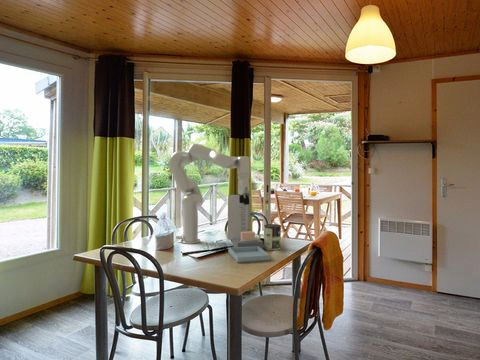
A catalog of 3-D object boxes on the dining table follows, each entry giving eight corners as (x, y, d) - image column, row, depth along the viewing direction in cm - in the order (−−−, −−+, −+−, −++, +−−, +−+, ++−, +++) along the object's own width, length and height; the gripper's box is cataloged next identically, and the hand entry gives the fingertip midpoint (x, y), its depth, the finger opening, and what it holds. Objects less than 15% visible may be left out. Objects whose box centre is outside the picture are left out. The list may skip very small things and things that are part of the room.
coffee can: (281, 246, 211) (281, 224, 210) (279, 250, 201) (280, 227, 200) (265, 245, 213) (265, 223, 212) (262, 249, 203) (263, 226, 202)
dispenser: (237, 251, 198) (237, 241, 197) (232, 246, 209) (232, 237, 209) (263, 249, 202) (263, 240, 202) (256, 245, 213) (257, 236, 213)
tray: (237, 262, 175) (237, 257, 175) (228, 252, 194) (228, 247, 194) (269, 260, 180) (269, 255, 180) (257, 251, 199) (258, 246, 199)
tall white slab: (227, 239, 228) (228, 195, 227) (230, 237, 234) (230, 194, 232) (247, 241, 224) (248, 196, 223) (249, 239, 230) (250, 195, 228)
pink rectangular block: (242, 249, 203) (242, 232, 203) (240, 247, 206) (240, 231, 205) (254, 248, 205) (254, 232, 205) (253, 247, 208) (253, 231, 208)
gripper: (234, 176, 215) (234, 202, 216) (242, 176, 198) (242, 205, 199) (245, 175, 217) (245, 202, 218) (254, 176, 201) (254, 204, 201)
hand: (244, 203), depth 209 cm, fingers open, 9 cm apart
